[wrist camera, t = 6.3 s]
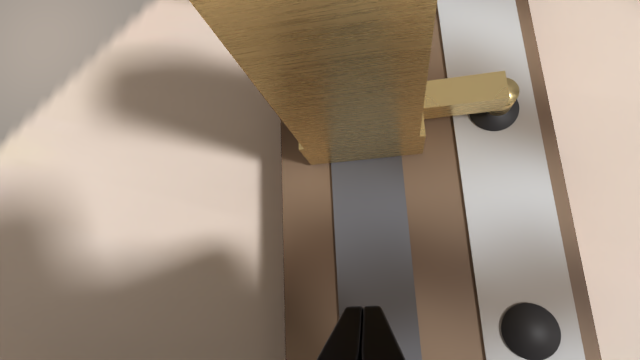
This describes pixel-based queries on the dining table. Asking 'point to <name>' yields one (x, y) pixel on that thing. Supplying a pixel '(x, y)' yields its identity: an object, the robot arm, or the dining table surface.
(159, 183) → the dining table surface
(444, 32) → the gauge board
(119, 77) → the dining table surface
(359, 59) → the leg
